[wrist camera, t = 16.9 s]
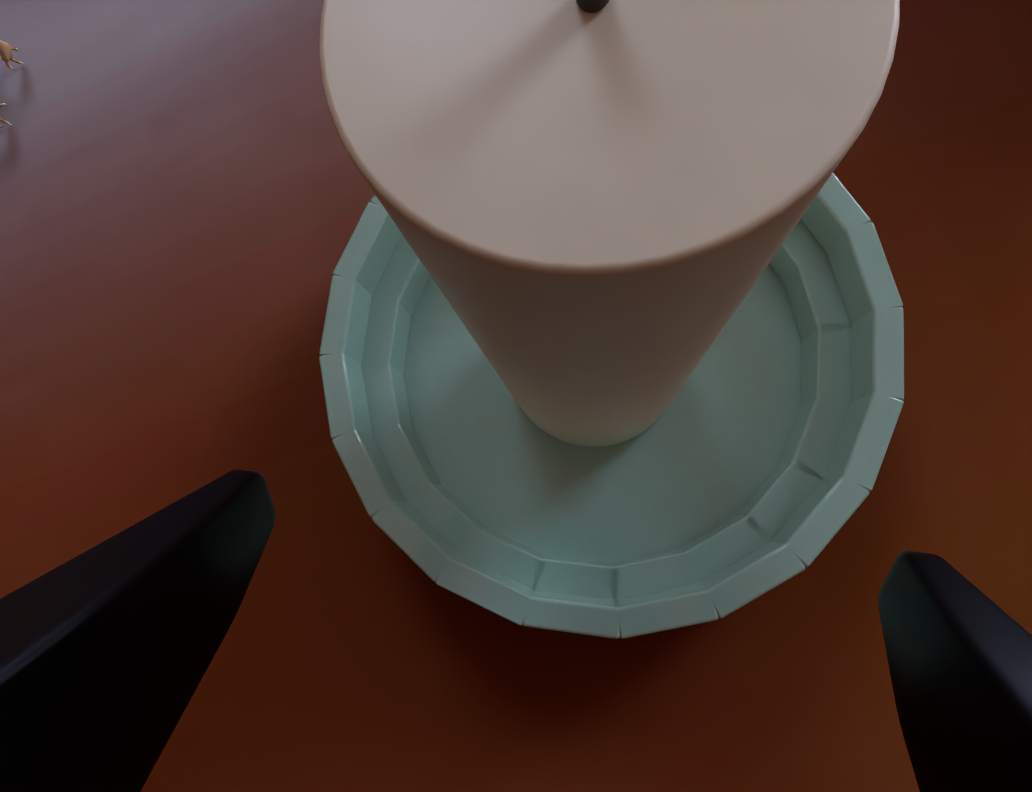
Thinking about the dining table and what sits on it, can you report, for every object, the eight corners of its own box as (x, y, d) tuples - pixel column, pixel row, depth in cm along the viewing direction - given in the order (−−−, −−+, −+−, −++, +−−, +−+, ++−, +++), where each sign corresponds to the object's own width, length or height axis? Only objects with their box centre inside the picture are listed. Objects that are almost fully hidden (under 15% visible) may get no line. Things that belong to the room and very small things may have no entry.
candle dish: (406, 658, 18) (366, 690, 14) (334, 209, 21) (288, 154, 17) (922, 555, 16) (999, 565, 13) (766, 95, 19) (799, 15, 16)
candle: (527, 464, 18) (305, 295, 4) (493, 303, 19) (223, -267, 5) (700, 425, 17) (1109, 92, 4) (655, 263, 18) (838, -474, 5)
